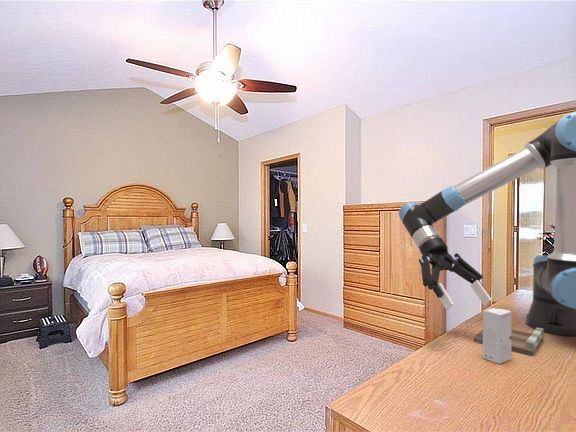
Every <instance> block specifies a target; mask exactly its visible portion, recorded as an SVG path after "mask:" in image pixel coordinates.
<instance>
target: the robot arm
mask: <svg viewBox="0 0 576 432" xmlns="http://www.w3.org/2000/svg"><path fill="white" fill-rule="evenodd" d="M550 166H554V167H555V169H556V182H555V186H556V187H555V209H554V210H555V211H554V216H555V217H554V243H553V244H554V246H553V247H554V248H553V251H552V253H549V255H536V256H535V257H534V258H533V264H532V266H533V277H532V278H533V280H532V282H533V283H532V303H531V305H530V308H529V310H528V313H527V314H526V316H525V324H526V325H527V326H528V327H530V328H533V329H534V330H535V329H536V328H542V329H543V333H549V334H554V335H560V336H572V337H573V336H574V337H575V336H576V111H573V112H571V113H568V114H565V115H564V116H563V117H561V118H560V119H559V120H558V121H557V122H555V123H554V124H552V125H551V126H549V127H548V128H547V129H546V130H544V132H542V133H541V134H539V135H538V136H537V137H535V138H534V139H532V140H531V141H529V142H527V143H525V145H524V148H522V149H520V150H518V151H517V152H515V153H513V154H511V155H509V156H507V157H505V158H504V159H502V160H500V161H497V162H496V163H495V164H493V165H491V166H489V167H486V168H485V169H482V170H481V171H479V172H477V173H476V174H474V175H472V176H470V177H468V178H466V179H464V180H462V181H461V182H459V183H457V184H455V185H450V186H448V187H446V188H444V189H442V190H440V191H439V192H438V193H436V194H435V195H433V196H431V197H430V198H428V199H427V200H425V201H424V202H422V203H420V204H419V203H418V202H416V201H410V202H407V203H405V204H403V205H402V206H401V207H400V208H399V211H398V216H399V219H400V221H401V223H402V224H403V226H404V227H405V229H406V231H407V232H408V234H409V236H410V237H411V239H412V241H413V243H415V245H416V247H417V249H419V252H420V254H421V256H420V257H419V259H418V262H419V264H420V268H421V277H422V286H423V287H426V288H427V289H428V290H430V291H431V290H432V291H433V293H434V294H435V296H436V298H438V299H439V300H440V302H441V304H442V305H443V307H444V309H445V310H447V311H448V310H450V309H451V308H452V307H453V306H454V305H455V303H454V302H453V300H452V298H451V296H450V295H449V293H448V292H447V290H446V289H445V287H444V285H443V284H442V283H441V282H439V278H440V274H441V273H440V272H442V271H449V272H450V273H454V274H456V275H458V276H459V277H461V278H462V279H464V280H465V281H467V282H468V283H470V287H471V288H472V290H473V291H474V293H475V294H476V296H477V297H478V300H479V301H480V302H481V304H482V305H483V306H487V305H488V304H489V303H490V302H492V298H491V296H490V295H489V293H488V292H487V290H486V288H485V287H484V285H483V283H481V280H482V279H483V278H484V276H483V275H482V274H481V273H480V272H479V271H477V270H476V269H475V268H474V267H473V266H472V265H471V264H469V263H468V262H466V260H465V259H463V258H462V257H461V255H460V254H458V252H456V253H454V255H451V254H450V253H449V251H448V250H449V248H448V246H447V243H445V241H444V239H443V238H442V236H441V235H440V233H439V231H437V229H436V228H435V227H434V224H436V223H437V222H439V221H440V220H442V219H444V218H446V217H447V216H449V215H451V214H453V213H454V212H457V211H458V210H459V209H461V208H463V207H464V206H466V205H468V204H471V203H472V202H474V201H476V200H477V199H479V198H481V197H483V196H485V195H488V194H489V193H491V192H493V191H495V190H497V189H499V188H501V187H503V186H505V185H507V184H509V183H511V182H513V181H515V180H517V179H519V178H521V177H523V176H525V175H527V174H528V173H531V172H533V171H535V170H537V169H541V170H544V169H545V168H547V167H550Z"/></svg>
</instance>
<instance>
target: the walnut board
mask: <svg viewBox="0 0 576 432" xmlns="http://www.w3.org/2000/svg"><path fill="white" fill-rule="evenodd" d="M543 341H544V331H543V329H542V328H536V329H534V331H533V332H528V331H522V330H519V329H513V328H511V352H515V353H519V354H523V355H527V356H531V357H534V355H535V354H536V352H537V350H538V349H539V347H540V346H541V344H542V342H543ZM473 342H475V343H478V344H482V345H483V329H482V330H480V331H479V332H478V333H477V334H476V335H475V336H473Z"/></svg>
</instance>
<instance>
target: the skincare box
mask: <svg viewBox="0 0 576 432" xmlns="http://www.w3.org/2000/svg"><path fill="white" fill-rule="evenodd" d="M482 312H483V313H482V316H483V317H482V322H483V324H482V330H483V344H482V358H483V359H485V360H487V361H489V362H491V363H492V362H493V363H495V364H502V363H506V362H508V361H510V360H511V359H512V351H511V329H512V311H511V310H507V309H502V308H498V307H493V308H488V309H485V310H483V311H482Z"/></svg>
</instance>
